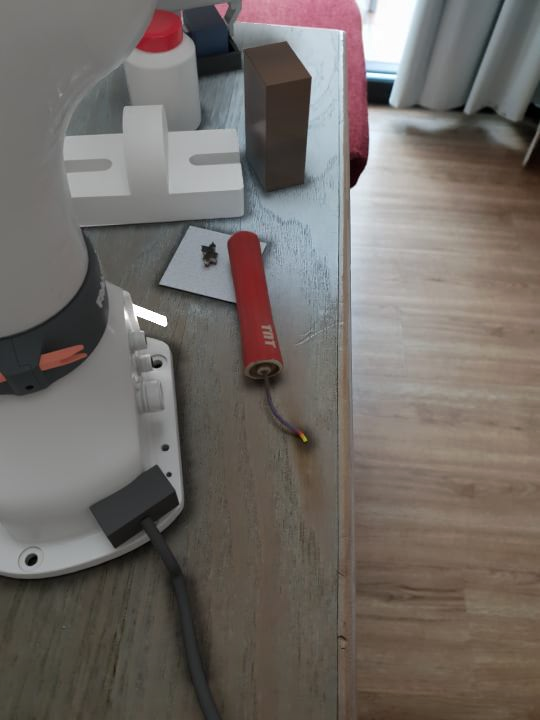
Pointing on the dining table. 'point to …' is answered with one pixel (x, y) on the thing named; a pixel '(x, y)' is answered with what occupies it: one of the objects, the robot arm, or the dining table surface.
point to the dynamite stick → (255, 313)
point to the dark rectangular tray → (220, 61)
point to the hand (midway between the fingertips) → (206, 39)
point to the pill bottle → (166, 72)
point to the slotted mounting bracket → (153, 172)
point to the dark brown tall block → (276, 114)
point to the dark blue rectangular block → (207, 30)
